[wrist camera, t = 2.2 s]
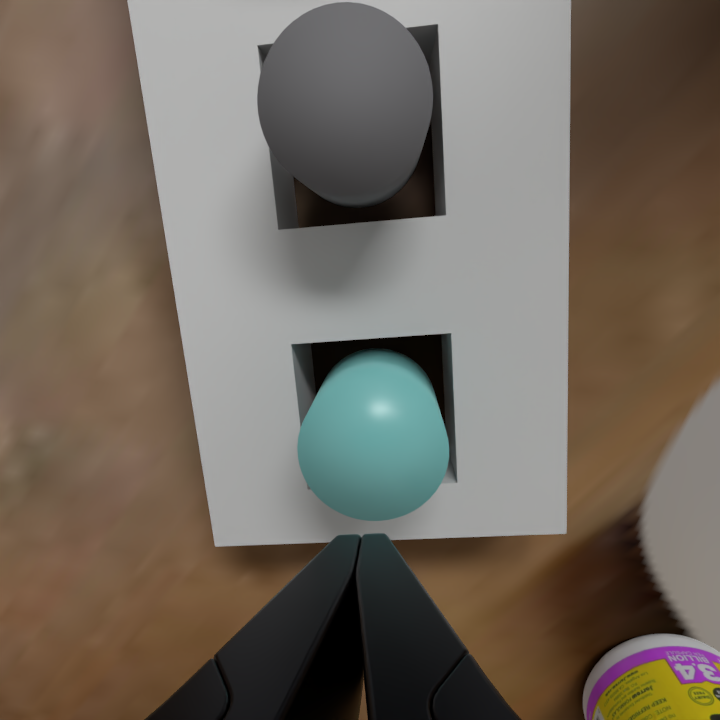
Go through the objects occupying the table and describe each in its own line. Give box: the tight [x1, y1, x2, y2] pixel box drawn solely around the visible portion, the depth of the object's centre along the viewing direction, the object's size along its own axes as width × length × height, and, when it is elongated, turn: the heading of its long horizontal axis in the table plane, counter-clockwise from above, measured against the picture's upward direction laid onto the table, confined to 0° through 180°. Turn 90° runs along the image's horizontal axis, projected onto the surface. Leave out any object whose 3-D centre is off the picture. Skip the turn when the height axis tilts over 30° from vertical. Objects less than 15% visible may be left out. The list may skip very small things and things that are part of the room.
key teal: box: [297, 348, 449, 521], centre depth 15 cm, size 4×4×4 cm
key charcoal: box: [257, 2, 433, 208], centre depth 13 cm, size 4×4×4 cm
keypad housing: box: [127, 0, 571, 547], centre depth 16 cm, size 12×26×4 cm, turn 5°
